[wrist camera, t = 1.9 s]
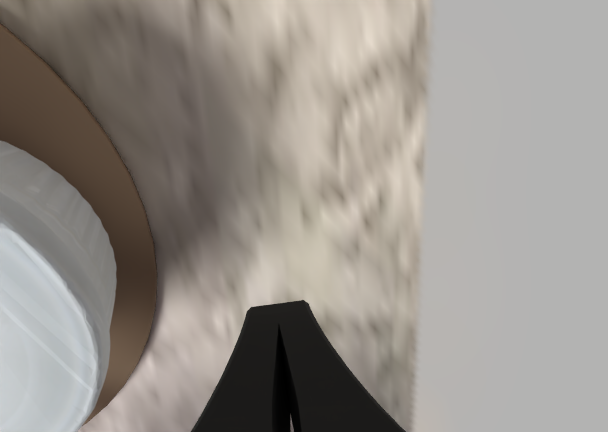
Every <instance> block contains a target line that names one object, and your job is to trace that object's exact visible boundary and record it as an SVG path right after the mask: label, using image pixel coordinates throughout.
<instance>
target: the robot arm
mask: <svg viewBox="0 0 608 432" xmlns="http://www.w3.org/2000/svg"><path fill="white" fill-rule="evenodd" d="M290 413H291V418H292V424H293V429H294V432H406V431H405V430H404V429H402V428H401V427H400V426H399V425H398V424H397V423H396V422H395V420H394V419H393V418H392V417H391V416H390V415H389V414H388V413H387V412H386V411H385V410H384V409H383V408H382V407H381V406H380V405H379V404H378V403H377V402H376V400H375V399H374V398H373V397H372V396H371V395H370V394H369V393H368V391H367V390H366V389H365V388H364V387H363V385H362V384H361V383H360V382H359V381H358V379H357V378H356V377H355V376H354V375H353V373H352V372H351V371H350V369H349V368H348V367H347V366H346V364H345V363H344V362H343V360H342V359H341V357H340V356H339V355H338V353H337V352H336V350H335V349H334V348H333V346H332V345H331V343H330V342H329V340H328V339H327V337H326V336H325V334H324V333H323V331H322V329H321V328H320V326H319V324H318V323H317V321H316V319H315V317H314V315H313V313H312V311H311V309H310V306H309V304H308V303H307V302H305V301H304V300H302V301H294V302H287V303H279V304H272V305H264V306H256V307H251V308H250V309H249V310H248V311H247V313H246V317H245V321H244V324H243V327H242V330H241V333H240V335H239V338H238V341H237V343H236V345H235V348H234V350H233V353H232V355H231V357H230V359H229V361H228V364H227V366H226V368H225V370H224V372H223V375H222V377H221V379H220V381H219V383H218V384H217V386H216V388H215V390H214V392H213V394H212V396H211V397H210V399H209V401H208V403H207V405H206V407H205V409H204V411H203V412H202V414H201V416H200V417H199V419H198V421H197V423H196V424H195V426H194V428H193V429H192V431H191V432H290Z"/></svg>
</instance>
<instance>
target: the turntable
mask: <svg viewBox="0 0 608 432" xmlns="http://www.w3.org/2000/svg"><path fill="white" fill-rule="evenodd" d="M0 141H4V142H7V143H9V144H11V145H13V146H15V147H17V148H19V149H21V150H24V151H26V152H27V153H29V154H30V155H32V156H33V157H35V158H37V159H38V160H40V161H42V162H44V163H45V164H47V165H48V166H49V167H50V168H51V169H52V170H54V171H56V172H57V173H59V174H60V175H62V176H63V177H64V178H65V180H66V181H67V182H68V183H69V184H71V185H72V186H73V187H75V188H76V189H77V190H78V192H79V193H80V194H81V196H82V197H83V198H84V199H85V200H86V201H87V202H88V203H89V204H90V205H91V207H92V209H93V211H94V212H95V214H96V215H97V216H98V217H99V219H100V220H101V223H102V225H103V228H104V229H105V231H106V232H107V234H108V236H109V241H110V244H111V246H112V248H113V252H114V258H115V262H116V269H117V270H116V279H117V283H116V290H115V302H114V308H113V313H112V319H111V324H110V330H109V332H110V356H109V365H108V370H107V374H106V378H105V381H104V384H103V387H102V389H101V392H100V395H99V397H98V400H97V403H96V406H95V408H94V410H93V411H92V412H91V414H90V415H89V417H88V418H87V419H86V421H85V422H84V424H86V423H87V422H88V421H90V420H91V419H92V418H93V417H94V416H95V415H96V414H98V413H99V412H100V411H101V410H102V409H103V408H105V407H106V406H107V405H108V404H109V402H110V401H111V400H112V399H113V398H114V397H115V395H116V394H117V393H118V392H119V391H120V390H121V388H122V387H123V386H124V385H125V383H126V382H127V380H128V378H129V377H130V375H131V373H132V372H133V370H134V369H135V367H136V365H137V364H138V362H139V359H140V357H141V354H142V352H143V349H144V347H145V344H146V342H147V339H148V337H149V334H150V330H151V325H152V321H153V316H154V311H155V307H156V294H157V267H156V258H155V249H154V242H153V238H152V234H151V231H150V227H149V223H148V219H147V215H146V212H145V209H144V206H143V204H142V201H141V199H140V197H139V194H138V192H137V189H136V187H135V185H134V182H133V180H132V177H131V175H130V173H129V171H128V170H127V168H126V166H125V164H124V163H123V161H122V159H121V158H120V156H119V154H118V152H117V151H116V149H115V147H114V145H113V144H112V142H111V140H110V138H109V137H108V136H107V134H106V133H105V132H104V130H103V129H102V128H101V126H100V125H99V124H98V122H97V121H96V119H95V118H94V117H93V115H92V114H91V113H90V111H89V110H88V109H87V107H86V106H85V105H84V103H83V102H82V101H81V100H80V98H79V97H78V96H77V95H76V94H75V93H74V92H73V91H72V90H71V89H70V88H69V87H68V86H67V85H66V83H65V82H64V81H63V80H62V79H61V78H60V77H59V76H58V75H57V74H56V73H55V72H54V71H53V70H52V69H51V67H50V66H49V65H48V64H47V63H46V62H45V61H44V60H42V59H41V58H40V57H39V56H38V55H37V54H36V53H34V52H33V51H32V50H31V49H30V48H29V47H27V46H26V45H25V44H24V43H23V42H22V41H21V40H19V39H18V38H17V37H16V36H15V35H14V34H12V33H11V32H10V31H9V30H8V29H7V28H6V27H4V26H3V25H2V24H0ZM84 424H83V425H84ZM83 425H82V426H83Z"/></svg>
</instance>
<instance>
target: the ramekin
mask: <svg viewBox="0 0 608 432" xmlns="http://www.w3.org/2000/svg"><path fill="white" fill-rule="evenodd" d="M116 270H117V269H116V262H115V258H114V252H113V248H112V246H111V244H110V241H109V236H108V234H107V232H106V231H105V229H104V228H103V225H102V223H101V220H100V219H99V217H98V216H97V215H96V214H95V212H94V211H93V209H92V207H91V205H90V204H89V203H88V202H87V201H86V200H85V199H84V198H83V197H82V196H81V194H80V193H79V192H78V190H77V189H76V188H75V187H73V186H72V185H71V184H69V183H68V182H67V181H66V180H65V178H64V177H63V176H62V175H60V174H59V173H57V172H56V171H54V170H52V169H51V168H50V167H49V166H48V165H47V164H45V163H44V162H42V161H40V160H38V159H37V158H35V157H33V156H32V155H30V154H29V153H27V152H26V151H24V150H21V149H19V148H17V147H15V146H13V145H11V144H9V143H7V142H4V141H0V432H78V430H79V429H80V428H81V426H82V425H83V424H84V422H85V421H86V419H87V418H88V417H89V415H90V414H91V412H92V411H93V410H94V408H95V406H96V403H97V400H98V397H99V395H100V392H101V389H102V387H103V384H104V381H105V378H106V374H107V370H108V365H109V356H110V332H109V330H110V324H111V319H112V313H113V308H114V302H115V290H116V283H117V279H116Z"/></svg>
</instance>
